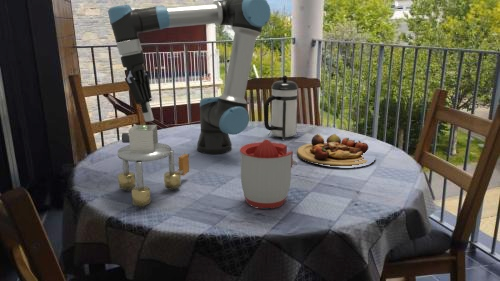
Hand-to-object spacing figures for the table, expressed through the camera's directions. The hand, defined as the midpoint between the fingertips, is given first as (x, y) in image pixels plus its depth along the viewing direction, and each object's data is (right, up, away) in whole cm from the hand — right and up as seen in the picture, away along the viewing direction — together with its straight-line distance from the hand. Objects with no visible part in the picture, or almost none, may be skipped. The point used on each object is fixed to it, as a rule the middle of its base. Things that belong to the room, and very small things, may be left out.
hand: (149, 120), depth 142 cm
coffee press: (+51, -6, +54) cm, 74 cm away
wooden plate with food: (+71, -14, +26) cm, 77 cm away
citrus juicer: (+41, -26, -18) cm, 52 cm away
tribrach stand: (+2, -25, -15) cm, 29 cm away
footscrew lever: (+11, -22, -6) cm, 25 cm away
